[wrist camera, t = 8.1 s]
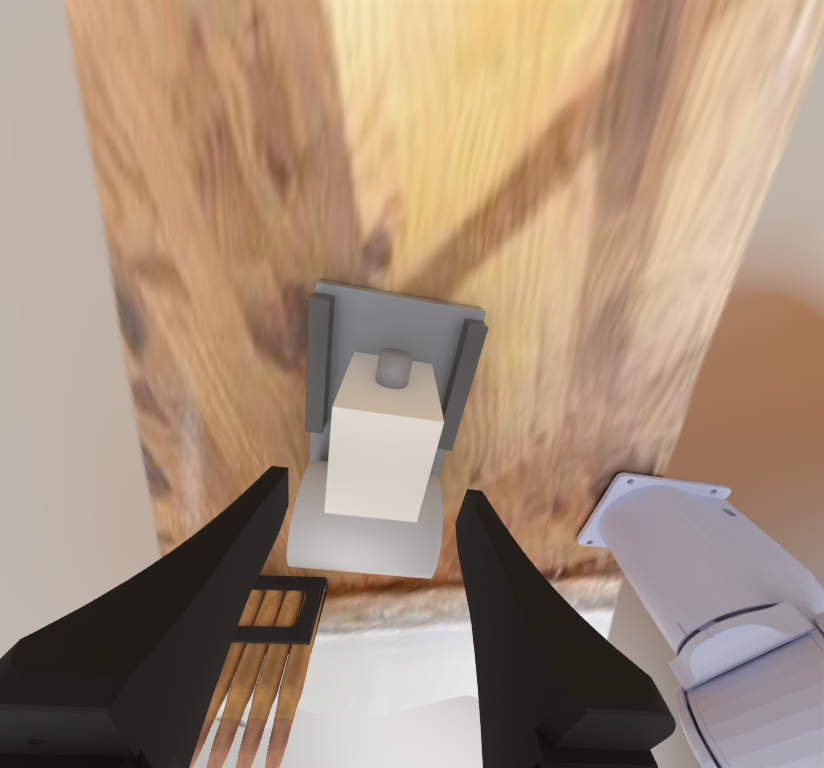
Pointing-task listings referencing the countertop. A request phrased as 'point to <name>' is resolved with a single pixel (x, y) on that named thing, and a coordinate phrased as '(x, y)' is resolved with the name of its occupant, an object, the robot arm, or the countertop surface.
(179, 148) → the countertop surface
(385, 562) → the motor mount
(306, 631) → the ammunition clip
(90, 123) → the countertop surface
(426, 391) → the block
